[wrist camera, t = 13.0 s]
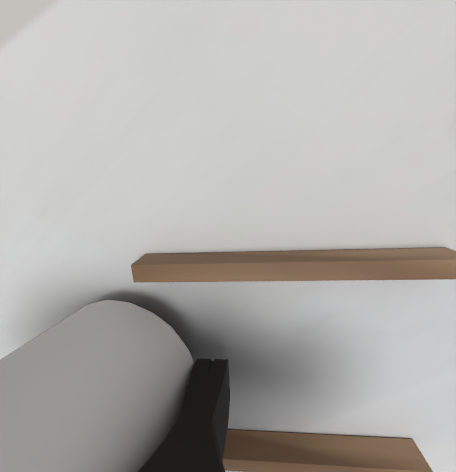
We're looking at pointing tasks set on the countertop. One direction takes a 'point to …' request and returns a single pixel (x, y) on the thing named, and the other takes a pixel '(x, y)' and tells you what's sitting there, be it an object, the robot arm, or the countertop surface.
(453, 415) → the countertop surface
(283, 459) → the pair of wooden slats
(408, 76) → the countertop surface
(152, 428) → the can
